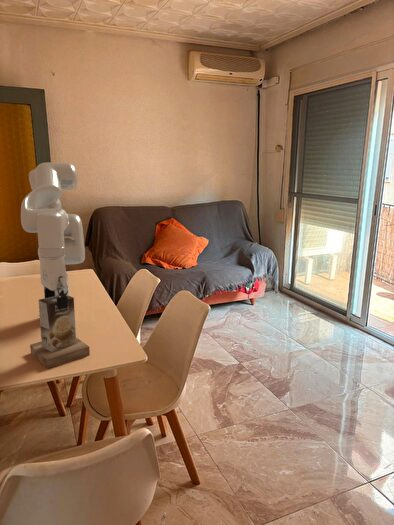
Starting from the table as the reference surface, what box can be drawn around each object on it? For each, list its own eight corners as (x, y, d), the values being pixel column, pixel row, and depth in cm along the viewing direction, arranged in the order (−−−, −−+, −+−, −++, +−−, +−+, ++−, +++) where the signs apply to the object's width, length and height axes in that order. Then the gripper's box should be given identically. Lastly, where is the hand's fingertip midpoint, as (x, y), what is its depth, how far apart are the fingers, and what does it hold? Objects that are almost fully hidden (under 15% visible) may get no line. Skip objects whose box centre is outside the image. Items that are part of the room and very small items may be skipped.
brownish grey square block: (30, 353, 131) (30, 344, 130) (71, 341, 140) (70, 333, 139) (47, 368, 121) (46, 359, 120) (89, 355, 130) (89, 346, 129)
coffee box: (51, 352, 125) (47, 304, 121) (41, 346, 129) (37, 299, 125) (77, 343, 131) (74, 297, 128) (66, 338, 135) (63, 293, 132)
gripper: (29, 248, 126) (34, 299, 131) (51, 259, 114) (56, 315, 118) (52, 245, 131) (56, 294, 136) (76, 255, 119) (79, 309, 123)
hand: (56, 304), depth 127 cm, fingers open, 9 cm apart
